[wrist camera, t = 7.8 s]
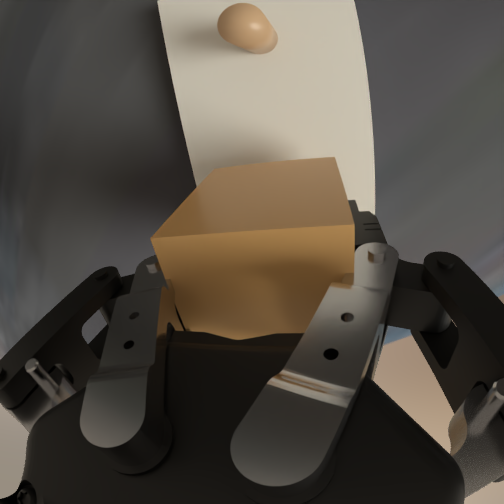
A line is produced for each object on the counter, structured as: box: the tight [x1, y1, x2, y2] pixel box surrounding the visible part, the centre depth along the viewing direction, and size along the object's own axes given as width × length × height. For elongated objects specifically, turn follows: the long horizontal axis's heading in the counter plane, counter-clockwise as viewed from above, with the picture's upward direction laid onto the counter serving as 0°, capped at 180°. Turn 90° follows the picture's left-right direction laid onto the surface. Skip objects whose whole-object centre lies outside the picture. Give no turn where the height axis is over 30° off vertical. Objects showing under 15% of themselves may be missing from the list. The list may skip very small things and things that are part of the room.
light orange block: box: [150, 157, 355, 340], centre depth 11 cm, size 5×5×6 cm
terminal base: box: [157, 0, 375, 215], centre depth 12 cm, size 9×15×6 cm, turn 10°
